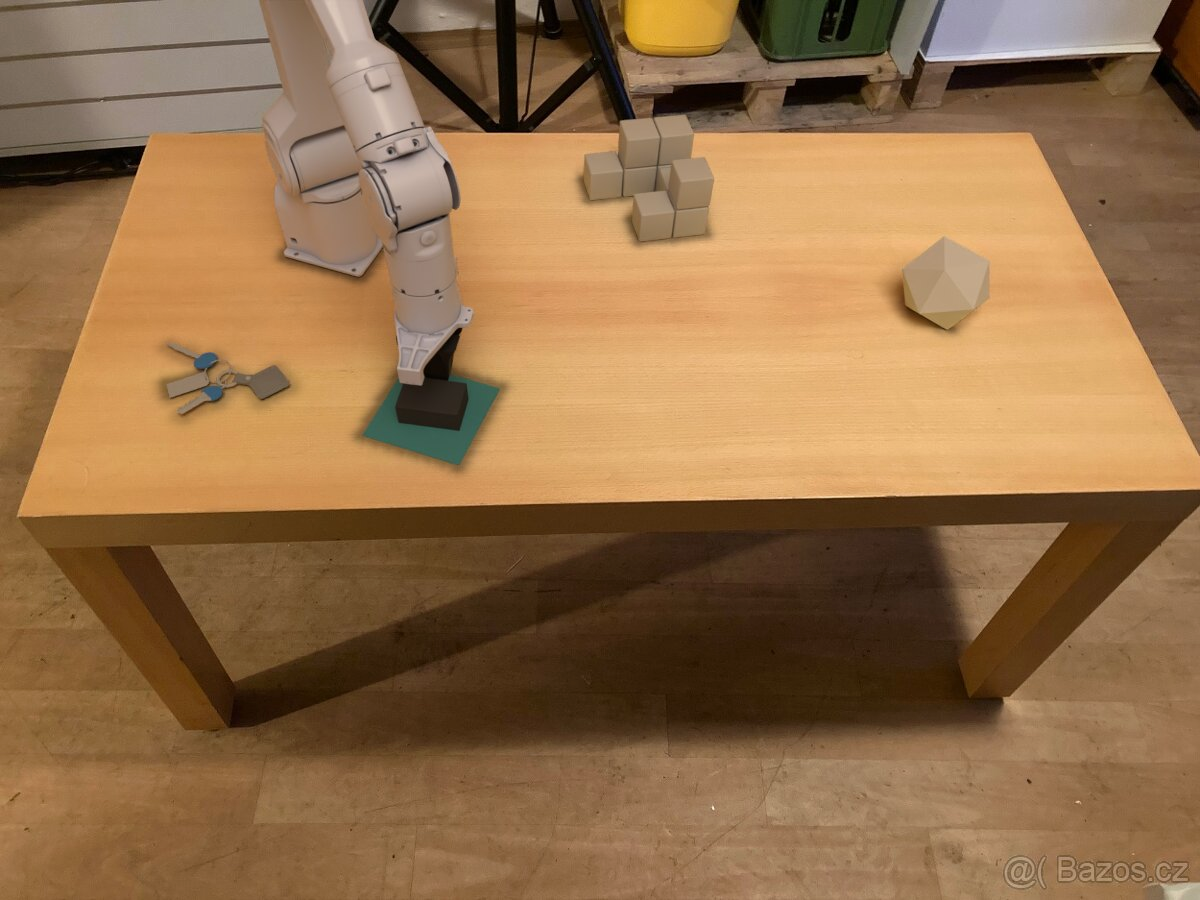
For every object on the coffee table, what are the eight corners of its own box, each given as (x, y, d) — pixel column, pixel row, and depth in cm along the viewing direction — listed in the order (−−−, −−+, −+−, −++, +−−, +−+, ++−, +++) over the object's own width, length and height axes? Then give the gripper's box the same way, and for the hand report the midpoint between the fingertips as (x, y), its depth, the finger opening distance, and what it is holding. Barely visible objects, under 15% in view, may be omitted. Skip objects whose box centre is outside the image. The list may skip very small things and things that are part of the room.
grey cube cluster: (583, 180, 111) (585, 123, 104) (678, 170, 113) (685, 113, 106) (604, 246, 104) (607, 189, 97) (705, 234, 106) (715, 177, 99)
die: (989, 318, 100) (987, 225, 97) (991, 336, 93) (989, 237, 90) (907, 323, 104) (903, 234, 101) (903, 342, 96) (899, 246, 93)
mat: (362, 435, 87) (362, 435, 87) (408, 362, 92) (408, 361, 92) (459, 465, 85) (459, 465, 85) (500, 388, 91) (500, 388, 91)
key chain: (298, 373, 91) (296, 367, 90) (260, 436, 86) (258, 431, 85) (170, 344, 92) (167, 338, 92) (125, 405, 87) (122, 399, 87)
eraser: (398, 422, 88) (394, 406, 86) (409, 391, 90) (405, 374, 88) (459, 431, 87) (457, 415, 85) (468, 399, 90) (466, 382, 88)
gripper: (449, 340, 74) (462, 440, 85) (485, 224, 83) (493, 328, 94) (364, 329, 74) (388, 430, 85) (409, 215, 83) (426, 320, 94)
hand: (438, 377), depth 89 cm, fingers closed
